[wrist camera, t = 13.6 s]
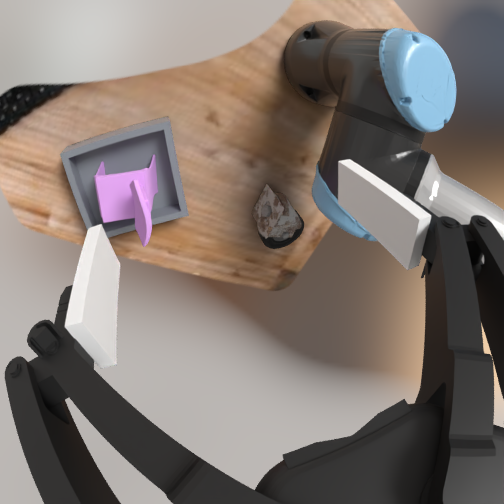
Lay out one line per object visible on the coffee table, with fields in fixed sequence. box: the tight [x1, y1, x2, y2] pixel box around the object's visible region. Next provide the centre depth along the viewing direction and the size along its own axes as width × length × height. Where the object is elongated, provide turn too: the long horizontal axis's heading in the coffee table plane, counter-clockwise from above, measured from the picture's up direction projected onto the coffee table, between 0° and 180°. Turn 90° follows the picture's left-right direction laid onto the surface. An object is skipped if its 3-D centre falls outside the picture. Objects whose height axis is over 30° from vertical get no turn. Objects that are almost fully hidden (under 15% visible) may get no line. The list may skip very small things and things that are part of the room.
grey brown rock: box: [252, 184, 304, 249], centre depth 54 cm, size 7×11×10 cm
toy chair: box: [94, 155, 158, 247], centre depth 36 cm, size 8×9×15 cm
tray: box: [60, 117, 189, 238], centre depth 41 cm, size 16×15×4 cm
